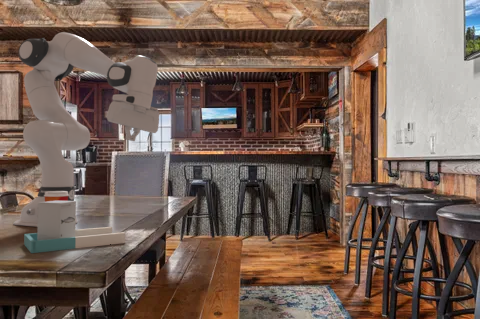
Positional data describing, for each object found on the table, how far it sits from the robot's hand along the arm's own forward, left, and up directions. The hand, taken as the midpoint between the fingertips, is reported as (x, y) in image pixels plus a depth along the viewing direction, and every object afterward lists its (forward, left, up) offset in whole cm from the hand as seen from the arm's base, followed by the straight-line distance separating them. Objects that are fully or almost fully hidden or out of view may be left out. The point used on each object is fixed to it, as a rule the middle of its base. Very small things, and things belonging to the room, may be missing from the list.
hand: (130, 140), depth 142 cm
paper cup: (-20, -13, -32) cm, 39 cm away
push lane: (-5, -25, -31) cm, 40 cm away
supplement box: (-9, -28, -32) cm, 43 cm away
